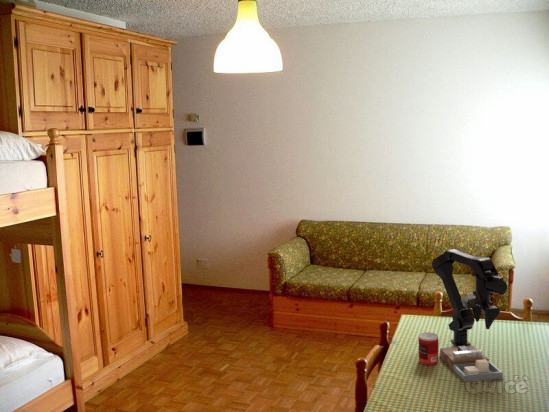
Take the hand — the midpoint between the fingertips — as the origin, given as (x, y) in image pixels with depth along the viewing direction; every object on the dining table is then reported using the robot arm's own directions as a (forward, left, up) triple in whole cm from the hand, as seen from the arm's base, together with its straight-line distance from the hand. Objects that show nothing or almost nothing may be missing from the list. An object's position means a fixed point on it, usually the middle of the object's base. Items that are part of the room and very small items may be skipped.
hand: (482, 325), depth 241 cm
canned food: (+4, -25, -12) cm, 28 cm away
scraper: (+12, -11, -7) cm, 18 cm away
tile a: (+20, -14, -9) cm, 26 cm away
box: (+19, -11, -12) cm, 25 cm away
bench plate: (+7, -11, -12) cm, 18 cm away
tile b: (+16, -8, -10) cm, 20 cm away
